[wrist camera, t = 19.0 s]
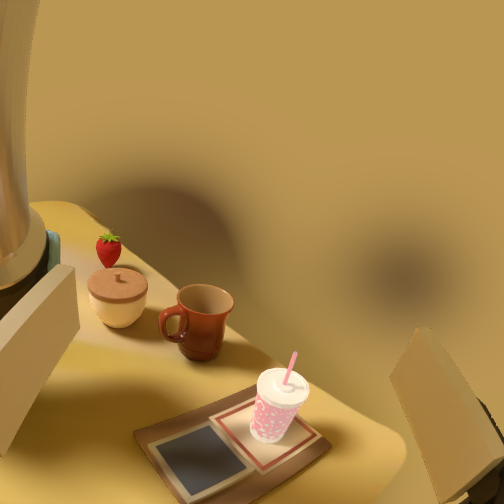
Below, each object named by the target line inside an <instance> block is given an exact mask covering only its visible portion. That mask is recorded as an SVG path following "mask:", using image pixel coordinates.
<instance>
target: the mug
mask: <svg viewBox="0 0 504 504" xmlns="http://www.w3.org/2000/svg"><path fill="white" fill-rule="evenodd" d="M177 302H178V305H176V306H173V307H169V308H167V309H165V310H163V311H162V312H161V313H160V315H159V319H158V327H159V331H160V333H161V335H162V336H163V338H164V339H166V340H167V341H169V342H173V343H178V347H179V349H180V351H181V353H182V354H183V355H185V356H186V357H188V358H190V359H193V360H197V361H207V360H211V359H213V358H215V357H216V356H217V355H218V354H219V352H220V350H221V347H222V345H223V338H224V332H225V324H226V320H227V318H228V316H229V314H230V312H231V310H232V309H233V307H234V299H233V298H232V296H231V295H230V294H229V293H228V292H226V291H225V290H223V289H221V288H218V287H215V286H211V285H205V284H194V285H189V286H186V287H184V288H182V289H181V290H180V291H179V292H178V294H177ZM174 315H179V316H180V321H179V327H178V332H176V333H174V334H168V333H167V331H166V321H167V319H168V318H169V317H171V316H174Z"/></svg>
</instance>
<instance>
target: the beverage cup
mask: <svg viewBox="0 0 504 504" xmlns="http://www.w3.org/2000/svg"><path fill="white" fill-rule="evenodd" d="M297 354H298V353H297V352H293V355H292V358H291V361H290V364H289V367H288V369H286V368H272V369H267V370H266V371H264V372H263V373H261V375H260V377H259V378H258V381H257V395H256V400H255V405H254V410H253V414H252V419H251V423H250V432H251V434H252V435H253V437H255V438H256V439H257V440H258V441H261V442H264V443H274V442H277V441H279V440H280V439H281V438H282V437H283V435H284V433H285V432H286V430H287V428H288V427H289V425H290V423H291V422H292V420H293V418H294V416H295V415H296V413H297V411H298V409H299V408H300V406H301V405H302V404H303V403H304V402H305V401H306V399H307V397H308V394H309V391H310V390H309V386H308V383H307V382H306V380H305V379H304V378H303V377H302V376H301V375H299V374H298V373H296V372H294V371H292V368H293V365H294V363H295V360H296V357H297Z"/></svg>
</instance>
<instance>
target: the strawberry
mask: <svg viewBox="0 0 504 504" xmlns="http://www.w3.org/2000/svg"><path fill="white" fill-rule="evenodd" d="M110 233H111V232H110ZM110 233H109V234H110ZM109 234H106V233H105V236H99V237H102V238H99V240H98V241H97V245H96V250H97V254H98V257H99V259H100V261H101V262H102V264H103V265H104V266H105V268H106V269H107V268H111V267H112V266H113V265H114V264H115V263H116V261H117V260H118V258H119V257H120V253H121V243H120V242H119V241H118V239H116V238H121V237H118V236H114V237H113V235H112V234H110V235H109Z"/></svg>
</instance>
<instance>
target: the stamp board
mask: <svg viewBox="0 0 504 504" xmlns="http://www.w3.org/2000/svg"><path fill="white" fill-rule="evenodd" d="M256 395H257V384H255V385H253V386H251V387H249V388H246V389H244V390H242V391H240V392H237V393H235V394H233V395H230V396H228V397H226V398H223V399H221V400H218V401H216V402H213V403H211V404H208V405H206V406H203V407H201V408H198V409H196V410H193V411H191V412H188V413H185V414H183V415H180V416H177V417H174V418H172V419H169V420H166V421H163V422H160V423H157V424H155V425H152V426H149V427H146V428H143V429H140V430H136V431H133V432H134V436H135V438H136V439H137V441H138V443H139V444H140V446H141V448H142V449H143V451H144V452H145V454H146V456H147V457H148V459H149V460H150V462H151V463H152V465H153V466H154V468H155V469H156V471H157V472H158V474H159V475H160V477H161V478H162V480H163V481H164V483H165V484H166V485H167V487H168V488H169V490H170V491H171V492H172V494H173V495H174V497H175V498H176V499H177V501H178V502H179V503H180V504H250V503H252V502H254V501H255V500H257V499H258V498H260V497H262V496H263V495H265V494H267V493H268V492H270V491H271V490H273V489H274V488H276V487H277V486H279V485H280V484H282V483H283V482H285V481H286V480H288V479H289V478H291V477H292V476H294V475H295V474H297V473H298V472H299V471H301V470H302V469H304V468H305V467H306V466H308V465H309V464H310V463H312V462H313V461H314V460H316V459H317V458H318V457H320V456H321V455H322V454H324V453H325V452H326V451H327V450H329V449H330V448H331V447H332V444H331V443H330V442H328V441H327V440H326V439H325V438H324V437H322V435H321V434H320V433H318V432H317V431H316V430H315V429H314V428H313V427H311V426H310V425H309V424H308V423H307V422H306V421H304V420H303V419H302V418H301V417H300V416H299V415H298V414H296V415H295V416H294V418H293V420H292V422H291V423H290V425H289V427H288V428H287V430H286V432H285V433H284V435H283V437H282V438H281V439H280V440H279V441H277V442H274V443H264V442H261V441H258V440H257V439H256V438H255V437H253V435H252V434H251V432H250V423H251V419H252V414H253V410H254V405H255V400H256Z"/></svg>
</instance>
